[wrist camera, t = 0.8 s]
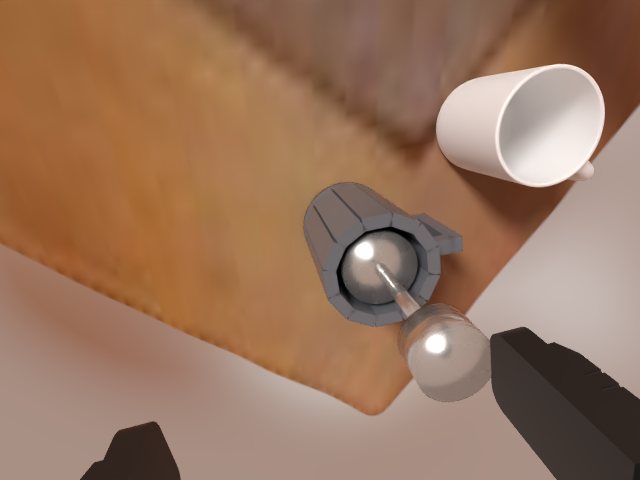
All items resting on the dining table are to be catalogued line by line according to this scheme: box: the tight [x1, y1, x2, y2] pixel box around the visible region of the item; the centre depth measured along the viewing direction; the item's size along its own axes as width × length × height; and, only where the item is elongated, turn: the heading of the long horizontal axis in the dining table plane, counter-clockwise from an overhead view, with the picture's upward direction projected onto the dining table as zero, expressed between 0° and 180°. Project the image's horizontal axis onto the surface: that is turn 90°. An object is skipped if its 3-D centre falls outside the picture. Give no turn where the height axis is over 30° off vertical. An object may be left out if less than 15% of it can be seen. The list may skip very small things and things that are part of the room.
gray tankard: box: [304, 182, 463, 327], centre depth 32 cm, size 8×11×12 cm
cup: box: [436, 64, 605, 187], centre depth 32 cm, size 8×12×10 cm
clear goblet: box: [341, 229, 491, 402], centre depth 22 cm, size 5×5×12 cm
